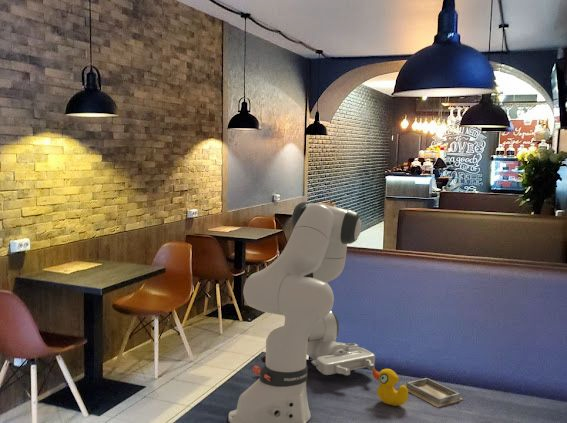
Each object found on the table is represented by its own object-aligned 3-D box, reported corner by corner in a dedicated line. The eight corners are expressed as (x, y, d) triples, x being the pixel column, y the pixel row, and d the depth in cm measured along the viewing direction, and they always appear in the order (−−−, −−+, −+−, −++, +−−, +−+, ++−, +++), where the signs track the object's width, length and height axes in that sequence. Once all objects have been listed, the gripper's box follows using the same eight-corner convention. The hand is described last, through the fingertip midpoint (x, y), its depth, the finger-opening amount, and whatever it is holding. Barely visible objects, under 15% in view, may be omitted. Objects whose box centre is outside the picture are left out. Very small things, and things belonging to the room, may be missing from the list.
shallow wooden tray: (437, 407, 161) (437, 400, 160) (403, 388, 173) (403, 382, 173) (463, 400, 166) (463, 393, 166) (427, 382, 178) (428, 376, 178)
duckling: (367, 400, 164) (368, 367, 163) (376, 395, 168) (377, 362, 167) (402, 412, 157) (404, 377, 156) (411, 406, 161) (412, 372, 160)
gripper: (308, 351, 180) (333, 365, 168) (359, 342, 190) (386, 355, 178) (308, 370, 181) (333, 386, 169) (358, 360, 191) (385, 374, 179)
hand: (360, 370), depth 174 cm, fingers open, 8 cm apart
